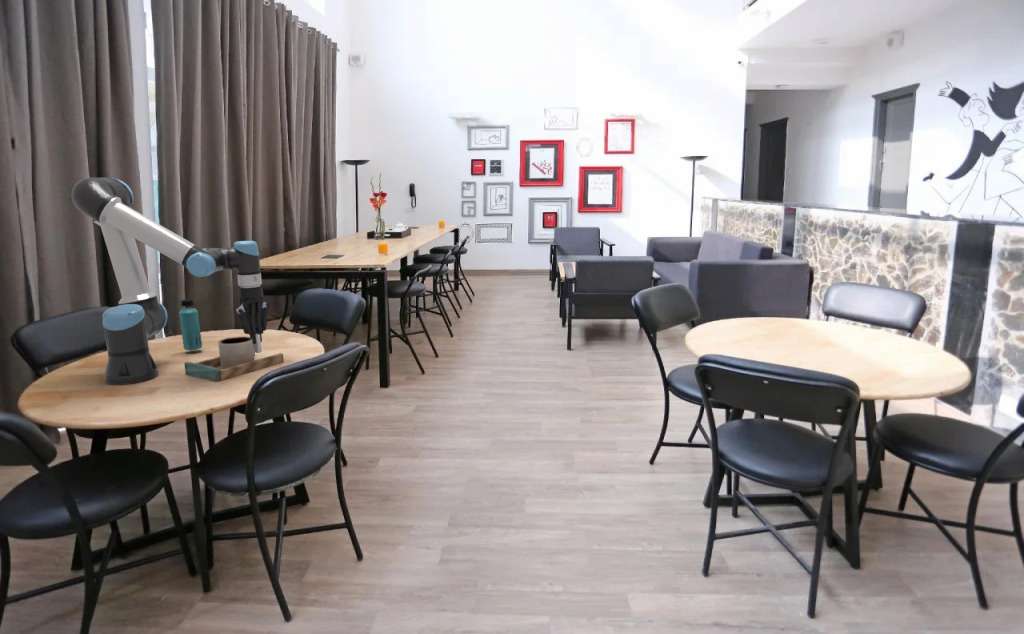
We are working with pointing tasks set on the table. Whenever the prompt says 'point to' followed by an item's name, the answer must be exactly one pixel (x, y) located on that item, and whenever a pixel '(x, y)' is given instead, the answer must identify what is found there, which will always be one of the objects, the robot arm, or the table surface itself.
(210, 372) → the bay
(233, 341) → the planter
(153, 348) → the table surface
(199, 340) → the beverage bottle
